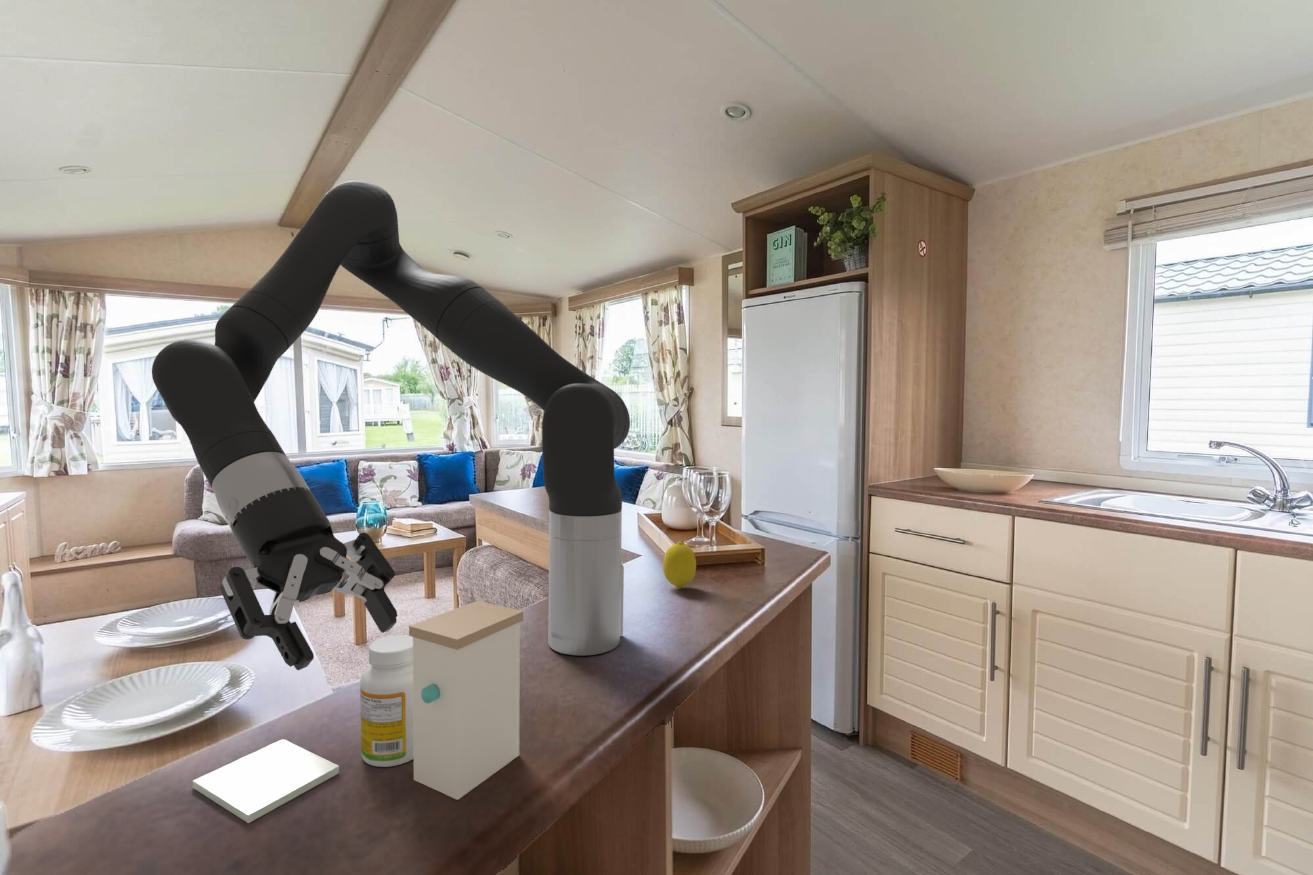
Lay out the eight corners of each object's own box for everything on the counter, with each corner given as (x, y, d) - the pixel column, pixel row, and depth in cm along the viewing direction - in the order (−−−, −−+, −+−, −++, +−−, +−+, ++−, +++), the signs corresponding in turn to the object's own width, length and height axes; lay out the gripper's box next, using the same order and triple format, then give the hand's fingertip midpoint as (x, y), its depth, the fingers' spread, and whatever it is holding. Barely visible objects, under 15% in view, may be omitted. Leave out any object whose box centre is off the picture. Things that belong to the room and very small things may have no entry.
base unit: (478, 737, 56) (478, 600, 55) (523, 754, 53) (524, 611, 53) (403, 784, 49) (402, 628, 48) (451, 806, 46) (451, 642, 46)
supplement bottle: (408, 727, 58) (407, 626, 57) (439, 749, 54) (439, 641, 54) (349, 752, 53) (348, 643, 53) (379, 777, 50) (378, 661, 49)
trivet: (283, 745, 54) (283, 738, 54) (339, 773, 50) (338, 765, 50) (192, 787, 48) (192, 780, 48) (248, 823, 44) (248, 815, 44)
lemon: (696, 594, 99) (697, 545, 99) (662, 593, 100) (663, 545, 99) (694, 584, 105) (695, 538, 105) (662, 583, 105) (663, 537, 105)
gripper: (324, 515, 69) (397, 636, 65) (177, 548, 56) (256, 700, 52) (352, 474, 65) (431, 598, 61) (203, 499, 53) (289, 657, 49)
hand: (350, 644), depth 57 cm, fingers open, 8 cm apart
